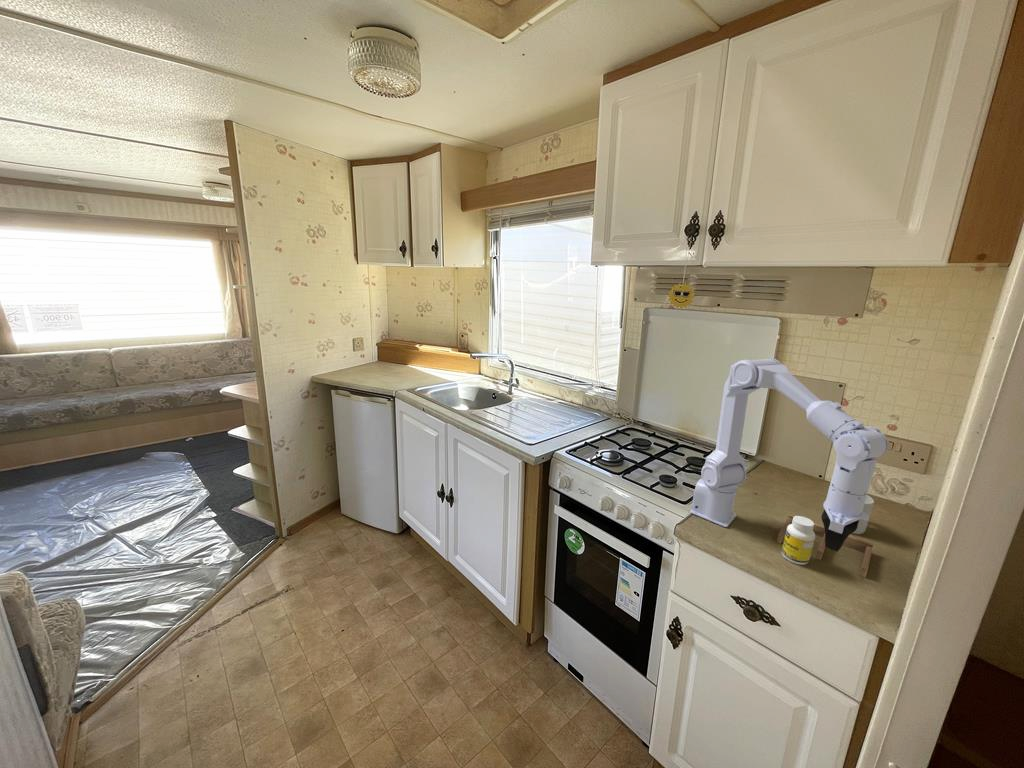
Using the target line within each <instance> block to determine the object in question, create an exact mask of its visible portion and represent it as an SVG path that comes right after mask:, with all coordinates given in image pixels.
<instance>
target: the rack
mask: <svg viewBox="0 0 1024 768" xmlns="http://www.w3.org/2000/svg"><path fill="white" fill-rule="evenodd" d="M794 516H795V515H794V514H788V517H787V518H786V521H785V522H784V523H783V525H782V527H781V529H780V531H779V532H778V534H777V536H776V537H777V538H776V543H778V544H780V545H782V544H783V542H784V538H785V534H786V530H787V527H788V525H790V524H792V520H793V517H794ZM812 531H813V532H814V533H815V536H818V537H821V541H820V544H819V547H818V548H817V551H816V556H815V559H817V560H819V561H822V558H823V557H824V556H823V555H824V553H825V551H826V547H825V528H824V525H822V524H819V523H815V522H814V528H813V530H812ZM842 546H846V547H848V548H851V549H854V550H857V551H860V552H862V553H864V555H863V560H862V563H861V569H860V572H859V577H862V578H864V579H866V577H867V575H868V570H869V566H870V562H871V561H870V560H871V557H872V550H873V547H874V543H872V542H869V541H866V540H863V539H861V538H858V537H855V536H852V535H851V534H850V535H849V536H848V537H847V538H846V540H845V541H844V543H843V545H842Z"/></svg>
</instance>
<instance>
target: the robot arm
mask: <svg viewBox="0 0 1024 768" xmlns="http://www.w3.org/2000/svg"><path fill="white" fill-rule="evenodd" d="M723 386H724V387H723V392H722V393H723V394H722V399H721V408H720V413H719V415H720V416H719V422H718V430H717V436H716V443H715V444H716V446H715V450H713V451H712V452H711V453H710V454H708V455H707V457H706V458H705V463H704V465H703V466H702V468H701V472H700V474H701V478H699V480H698V481H697V482H696V485H695V488H694V491H693V497H692V503H691V509H690V511H689V513H691V514H693V515H695V516H697V517H699V518H702V519H704V520H707V521H709V522H712V523H715V525H716V524H717V525H719V526H721V527H724V528H728V527H729V526H730V525H731V523H732V522H733V521H734V520H735V518H736V517H737V513H735V512H733V511H734V505H735V500H736V494H737V490H738V489H739V486H740V484H742V483H744V482H745V480H747V471H746V466H745V463H746V459H745V458H744V457H743V456H742V455H741V453H740V451H741V445H742V439H743V432H744V425H745V418H746V412H747V405H748V397H749V395H750V394H752V393H754V392H756V391H757V390H759V389H761V388H762V389H770V390H771V389H772V390H776V391H777V392H779V393H780V394H782V395H783V396H784V397H786V398H787V399H788V400H790V401H791V402H793V403H794V404H795V405H796V406H798V407H799V408H800V409H802V410H803V411H804V412H806V420H807V421H808V422H809V424H811V425H812V426H814V427H815V429H817V430H818V431H819V432H820V433H822V434H823V435H824V436H825V437H826V438H827V439H828V440H829V441H831V442H832V443H833V445H832V446H833V449H834V452H835V453H836V459H835V464H834V468H833V472H832V475H831V478H830V479H831V481H830V482H829V483H830V484H829V487H828V491H827V495H826V499H825V501H823V504H822V505H823V506H822V507H823V509H824V510H823V512H822V514H821V522H822V524H823V526H824V528H825V547H826V548H827V549H830V550H832V551H835V552H839V550H841V548H842V546H844V545H843V543H844V541H845V540H846V538H847V537H848V536H849V535H850V536H851V533H853V532H854V531H855V530H856V529H857V526H858V523H859V520H860V519H862V520H865V521H868V522H869V520H870V517H869V514H867V513H864V512H862V510H863V507H864V504H865V500H866V497H867V495H868V493H869V490H870V486H871V483H872V480H873V475H874V473H875V469H876V465H877V463H878V458H879V457H882V456H884V455H885V454H886V452H887V451H888V449H889V441H888V439H887V437H886V436H885V434H884V433H882V431H881V429H878V428H877V427H873V426H865V424H864V423H863V422H862V420H856V419H855V418H854V417H853V416H852V415H850V414H849V413H848V412H846V411H845V410H844V409H843V405H842V404H841V403H839V402H838V401H837V402H836V401H835V402H833V401H832V400H821V399H820V398H818V396H817V395H815V394H814V393H813V392H812V391H811V390H809V388H807V386H806V385H804V384H803V383H802V382H801V381H800V380H798V379H797V378H796V377H795V376H794V375H793V374H792V373H791V372H790V371H789V369H788V367H787V366H786V365H784V364H782V363H781V362H780V361H779V360H778V359H776V358H771V357H770V358H766V359H765V358H763V359H762V358H761V359H741V360H738V361H736V362H735V363H734V364H732V365H730V369H729V375H728V377H727V379H726V380H725V382H724V385H723ZM868 519H869V520H868ZM826 548H825V549H826Z"/></svg>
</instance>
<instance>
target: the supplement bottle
mask: <svg viewBox="0 0 1024 768" xmlns="http://www.w3.org/2000/svg"><path fill="white" fill-rule="evenodd" d="M814 523H815V522H814V521H813V520H812V519H810V518H808V517H805V516H802V515H794V517H793V520H792V524H790V525H788V527H787V530H786V534H785V538H784V539H783V541H782V547H781V555H782V557H783V558H785V559H786V560H787V561H789V562H790V563H792V564H794V565H802V566H805V565H807V564H808V563H810V559H811V555H812V551H813V548H814V543H815V540H816V535H815V533H814V532H813V531H812V530H813V528H814Z"/></svg>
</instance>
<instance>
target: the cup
mask: <svg viewBox="0 0 1024 768" xmlns="http://www.w3.org/2000/svg"><path fill="white" fill-rule="evenodd" d="M874 503H875V501H874V499H873V497H871V496H870V495H868V494H867V497H866V500H865V504H864V507H863V510H862V512H864V513H867V514H869V519H868V521H865V520H862V519H860V520H859V523H858V526H857V529H856V530H855V531H854V532H853V533H851V534H853V535H862V534H864V533H865V532H866V530H867V527H868V524H869V520H870V516H871V514H872V510H873V506H874ZM851 534H850V535H851Z"/></svg>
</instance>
